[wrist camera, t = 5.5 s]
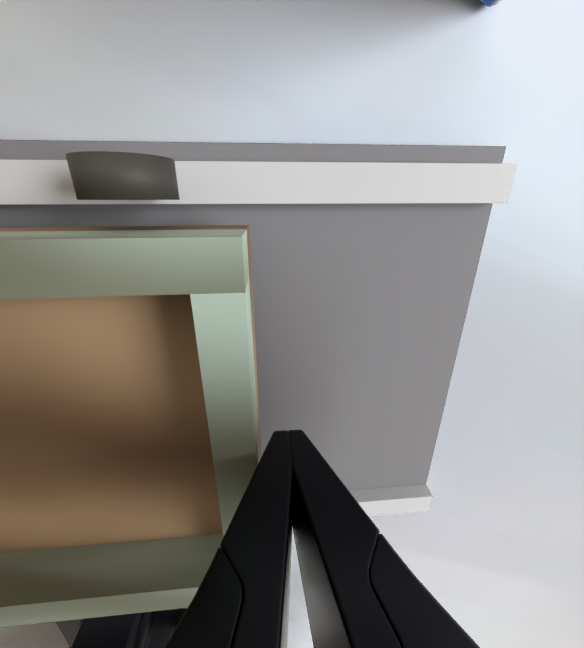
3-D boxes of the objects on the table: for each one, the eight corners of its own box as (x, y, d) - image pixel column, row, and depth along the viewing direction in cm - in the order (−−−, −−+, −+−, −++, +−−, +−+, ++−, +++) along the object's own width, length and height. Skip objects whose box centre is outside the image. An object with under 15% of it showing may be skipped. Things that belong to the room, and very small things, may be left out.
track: (415, 497, 15) (436, 539, 13) (-224, 549, 13) (-308, 609, 11) (494, 149, 9) (552, 136, 7) (-660, 134, 7) (-1003, 111, 5)
